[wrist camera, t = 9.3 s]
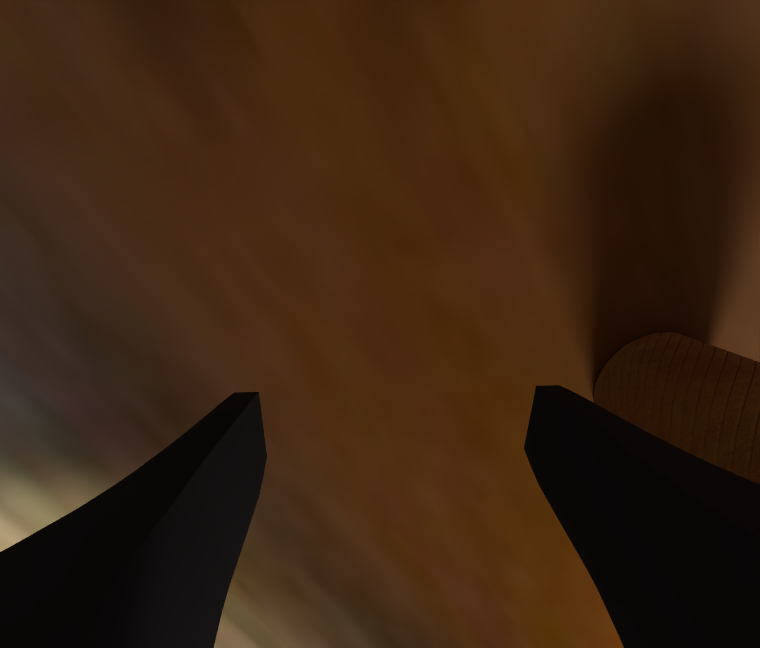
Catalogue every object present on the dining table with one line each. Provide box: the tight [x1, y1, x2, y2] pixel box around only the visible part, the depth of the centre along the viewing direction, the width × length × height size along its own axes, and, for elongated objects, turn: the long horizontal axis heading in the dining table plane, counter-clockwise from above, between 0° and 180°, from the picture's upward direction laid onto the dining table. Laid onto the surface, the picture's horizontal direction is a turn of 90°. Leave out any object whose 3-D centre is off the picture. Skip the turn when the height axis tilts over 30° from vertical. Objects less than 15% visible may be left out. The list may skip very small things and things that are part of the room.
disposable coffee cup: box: [594, 332, 760, 484], centre depth 16 cm, size 10×10×12 cm
